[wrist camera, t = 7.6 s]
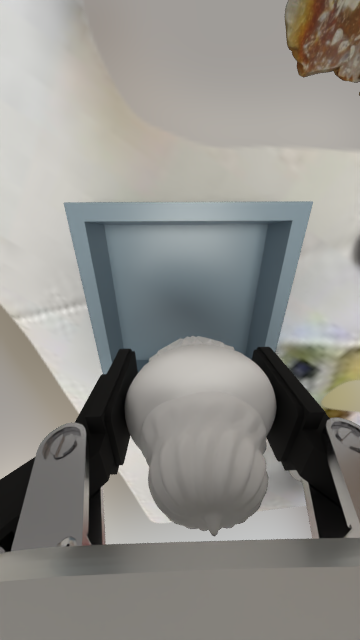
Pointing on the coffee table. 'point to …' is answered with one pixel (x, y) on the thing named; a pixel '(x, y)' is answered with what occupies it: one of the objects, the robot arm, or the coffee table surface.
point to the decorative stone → (325, 37)
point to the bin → (186, 272)
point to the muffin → (202, 431)
